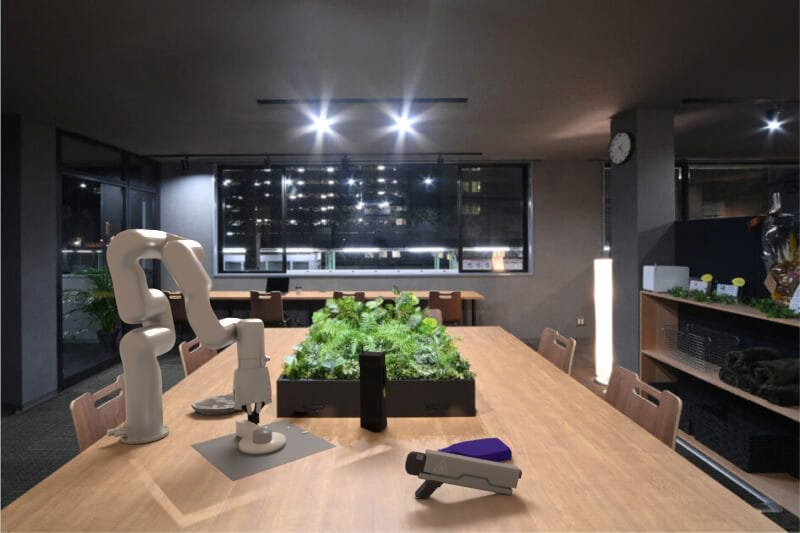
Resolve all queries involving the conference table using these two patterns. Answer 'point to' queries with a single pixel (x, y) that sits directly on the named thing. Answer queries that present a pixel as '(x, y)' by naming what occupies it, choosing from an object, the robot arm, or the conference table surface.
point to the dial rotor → (258, 438)
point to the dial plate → (242, 465)
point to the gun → (460, 472)
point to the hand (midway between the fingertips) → (253, 426)
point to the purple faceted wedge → (481, 449)
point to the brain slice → (215, 405)
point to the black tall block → (373, 391)
